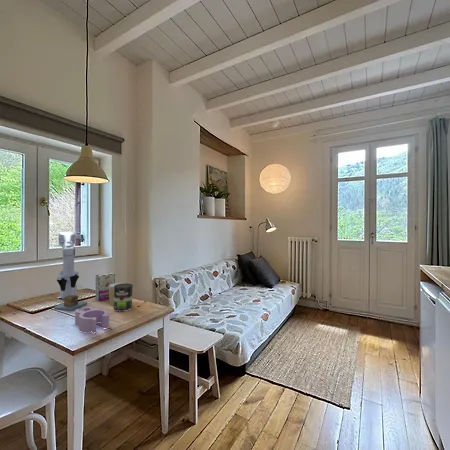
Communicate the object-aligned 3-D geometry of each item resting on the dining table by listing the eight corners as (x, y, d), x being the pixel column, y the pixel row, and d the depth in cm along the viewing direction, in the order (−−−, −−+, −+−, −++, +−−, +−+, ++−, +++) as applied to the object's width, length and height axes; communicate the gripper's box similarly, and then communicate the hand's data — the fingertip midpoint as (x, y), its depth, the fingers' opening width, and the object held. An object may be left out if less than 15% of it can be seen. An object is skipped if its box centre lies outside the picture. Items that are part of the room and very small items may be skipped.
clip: (68, 324, 127) (68, 311, 127) (92, 317, 138) (93, 304, 137) (88, 336, 116) (88, 321, 116) (113, 327, 126) (114, 313, 126)
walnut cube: (70, 302, 155) (70, 294, 155) (77, 303, 154) (77, 295, 154) (63, 305, 150) (64, 297, 150) (71, 306, 149) (71, 297, 149)
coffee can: (130, 311, 147) (131, 287, 147) (111, 312, 145) (112, 288, 145) (133, 305, 157) (134, 283, 157) (115, 306, 155) (116, 283, 155)
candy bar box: (111, 295, 175) (111, 272, 175) (115, 297, 172) (115, 273, 172) (94, 299, 166) (95, 274, 166) (98, 301, 163) (99, 276, 163)
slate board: (70, 302, 159) (70, 300, 159) (87, 304, 157) (87, 302, 157) (54, 309, 147) (54, 307, 147) (72, 311, 145) (72, 309, 145)
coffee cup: (127, 303, 161) (127, 284, 161) (113, 307, 153) (114, 287, 153) (118, 300, 166) (119, 282, 166) (105, 304, 159) (105, 284, 158)
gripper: (64, 269, 148) (64, 292, 148) (83, 265, 162) (82, 286, 162) (54, 268, 149) (53, 291, 149) (73, 264, 163) (72, 285, 163)
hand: (68, 289), depth 156 cm, fingers open, 7 cm apart
